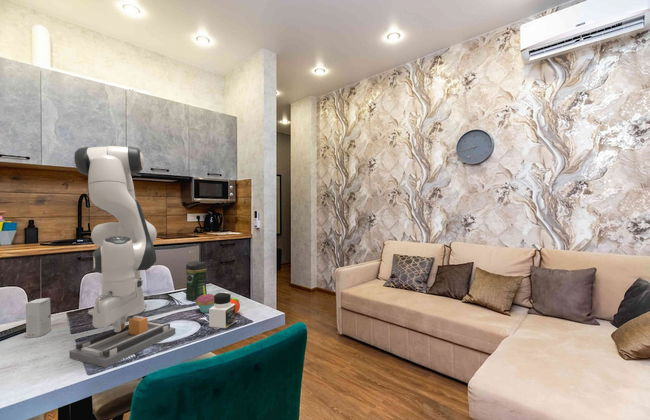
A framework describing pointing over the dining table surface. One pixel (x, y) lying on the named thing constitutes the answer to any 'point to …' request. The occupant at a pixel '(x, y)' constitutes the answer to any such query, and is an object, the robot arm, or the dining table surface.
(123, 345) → the pair of dark pieces
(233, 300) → the clementine
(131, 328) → the block
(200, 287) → the coffee jar
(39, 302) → the skincare box
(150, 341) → the panel
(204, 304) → the cupcake
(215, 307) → the medicine bottle
